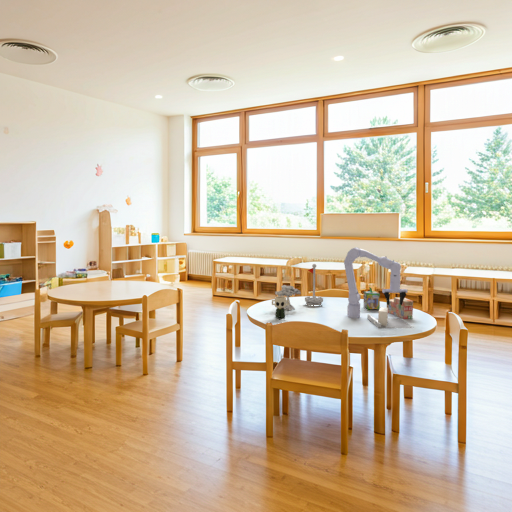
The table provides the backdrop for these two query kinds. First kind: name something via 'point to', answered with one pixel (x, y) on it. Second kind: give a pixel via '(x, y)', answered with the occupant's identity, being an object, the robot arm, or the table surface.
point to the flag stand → (313, 300)
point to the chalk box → (371, 299)
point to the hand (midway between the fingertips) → (394, 304)
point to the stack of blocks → (401, 308)
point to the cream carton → (383, 316)
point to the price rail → (374, 321)
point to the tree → (288, 294)
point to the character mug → (280, 306)
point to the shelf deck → (396, 323)
